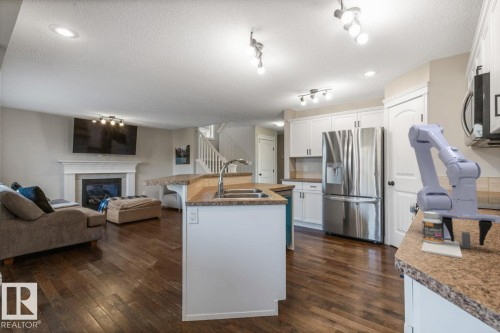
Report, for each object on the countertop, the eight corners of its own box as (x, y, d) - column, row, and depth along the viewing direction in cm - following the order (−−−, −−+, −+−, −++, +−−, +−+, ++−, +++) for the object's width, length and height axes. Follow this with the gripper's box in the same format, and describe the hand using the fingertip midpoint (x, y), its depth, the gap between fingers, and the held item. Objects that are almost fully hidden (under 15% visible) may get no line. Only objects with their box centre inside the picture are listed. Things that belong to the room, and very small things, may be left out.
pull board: (424, 238, 81) (424, 226, 82) (469, 244, 74) (468, 230, 74) (421, 251, 68) (420, 236, 68) (475, 260, 60) (474, 244, 60)
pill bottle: (425, 243, 74) (423, 213, 75) (421, 238, 79) (419, 210, 80) (447, 245, 72) (445, 214, 72) (441, 240, 77) (440, 211, 77)
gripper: (434, 199, 73) (436, 241, 72) (500, 202, 63) (503, 250, 62) (434, 197, 78) (436, 236, 77) (496, 200, 68) (498, 244, 68)
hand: (466, 242), depth 70 cm, fingers open, 6 cm apart
